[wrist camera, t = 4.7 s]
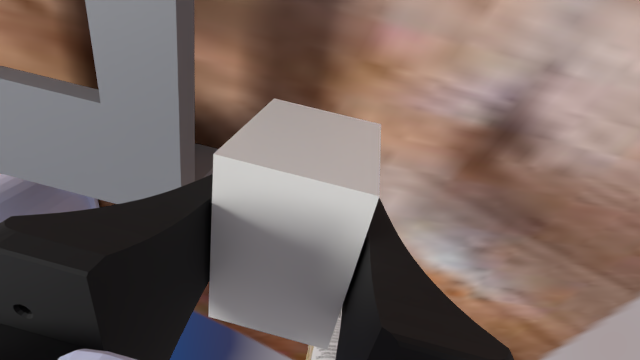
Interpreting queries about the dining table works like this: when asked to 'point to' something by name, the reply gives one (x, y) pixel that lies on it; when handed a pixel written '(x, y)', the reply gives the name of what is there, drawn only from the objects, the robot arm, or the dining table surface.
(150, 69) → the shelf
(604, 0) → the dining table surface
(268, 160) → the white rectangular prism
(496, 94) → the dining table surface
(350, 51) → the dining table surface
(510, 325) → the dining table surface
